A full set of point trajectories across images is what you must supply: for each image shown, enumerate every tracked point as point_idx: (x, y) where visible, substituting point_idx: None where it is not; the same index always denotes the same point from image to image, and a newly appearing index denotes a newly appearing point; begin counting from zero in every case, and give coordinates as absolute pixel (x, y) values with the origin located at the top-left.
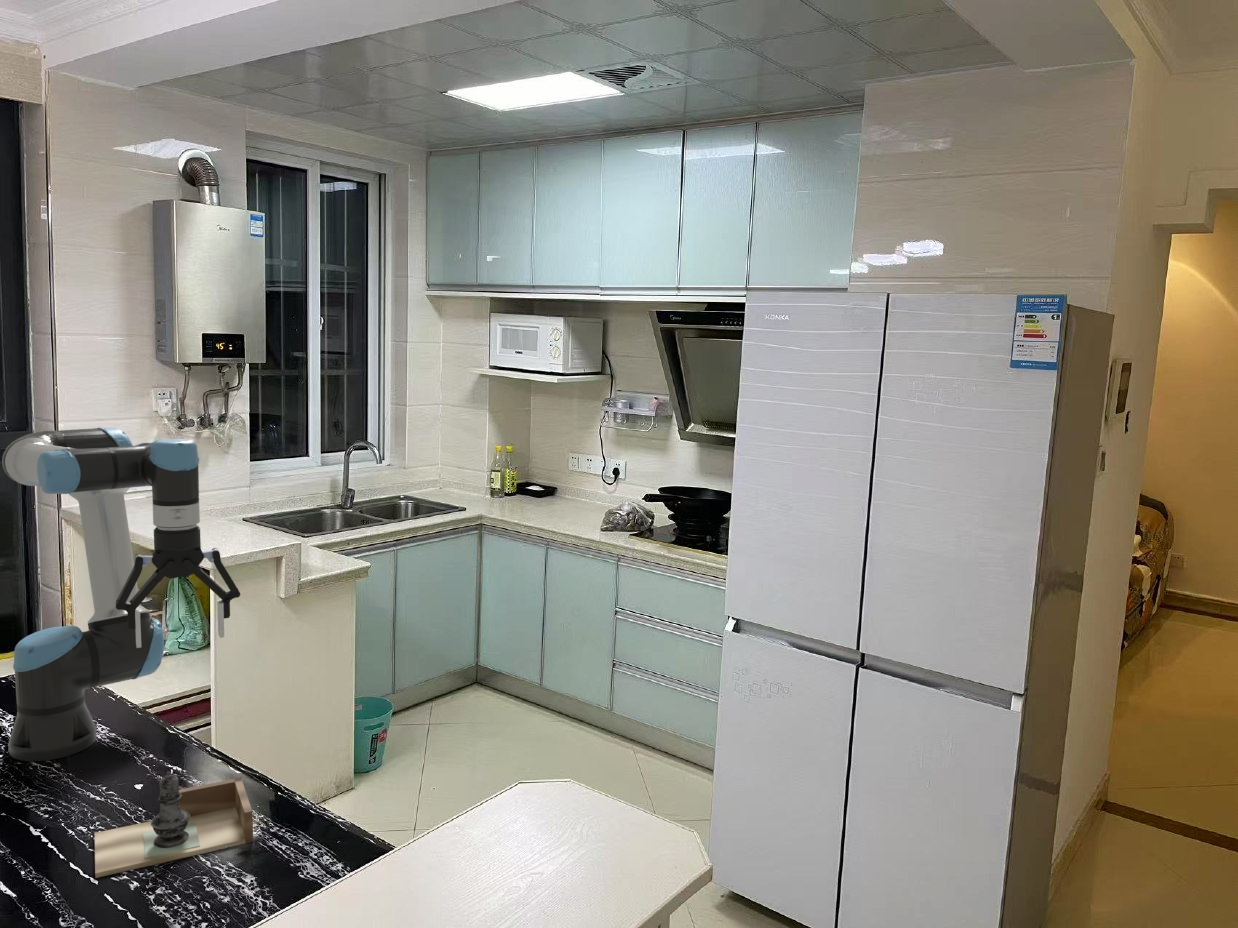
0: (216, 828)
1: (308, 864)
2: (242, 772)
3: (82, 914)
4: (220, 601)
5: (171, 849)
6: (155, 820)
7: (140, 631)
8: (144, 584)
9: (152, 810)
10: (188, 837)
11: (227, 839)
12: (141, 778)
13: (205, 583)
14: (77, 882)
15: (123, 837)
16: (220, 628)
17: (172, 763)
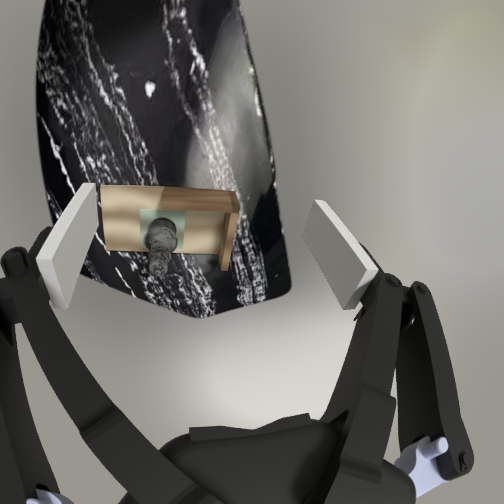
0: (201, 228)
1: (246, 290)
2: (262, 116)
3: (105, 281)
4: (360, 291)
5: None
6: (147, 242)
7: (85, 255)
8: (46, 374)
9: (153, 155)
10: (175, 233)
11: (205, 248)
12: (156, 69)
13: (338, 384)
14: (95, 247)
15: (123, 206)
16: (312, 252)
17: (198, 46)
